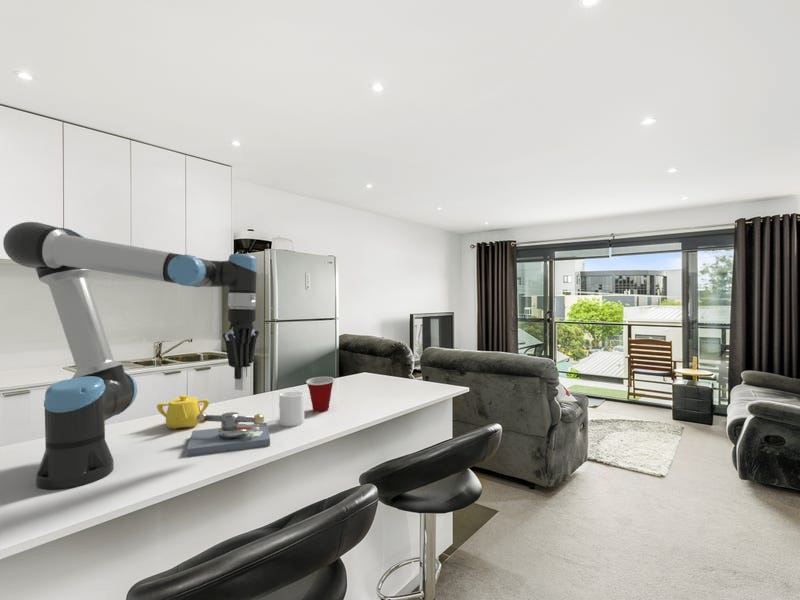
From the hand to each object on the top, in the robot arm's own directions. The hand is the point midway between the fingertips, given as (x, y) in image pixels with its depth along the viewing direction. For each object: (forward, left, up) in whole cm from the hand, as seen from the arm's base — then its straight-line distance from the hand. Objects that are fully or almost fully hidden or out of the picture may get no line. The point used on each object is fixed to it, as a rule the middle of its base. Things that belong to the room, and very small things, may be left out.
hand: (240, 389), depth 123 cm
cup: (+16, +21, -17) cm, 32 cm away
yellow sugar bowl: (-18, +30, -17) cm, 39 cm away
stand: (-3, +7, -17) cm, 19 cm away
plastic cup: (+29, +32, -17) cm, 47 cm away
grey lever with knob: (-3, +7, -15) cm, 17 cm away
